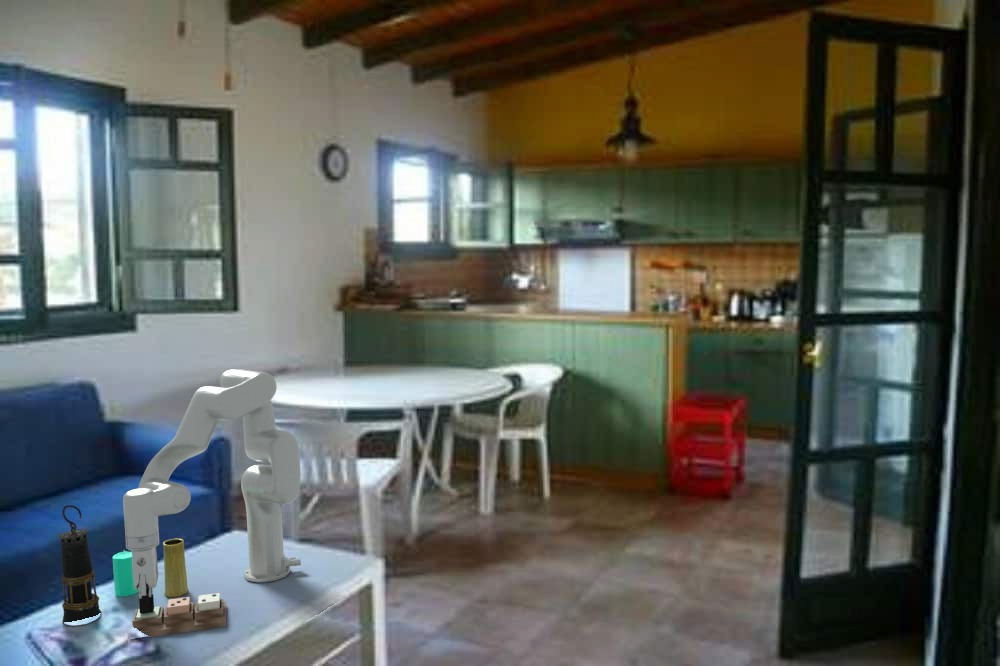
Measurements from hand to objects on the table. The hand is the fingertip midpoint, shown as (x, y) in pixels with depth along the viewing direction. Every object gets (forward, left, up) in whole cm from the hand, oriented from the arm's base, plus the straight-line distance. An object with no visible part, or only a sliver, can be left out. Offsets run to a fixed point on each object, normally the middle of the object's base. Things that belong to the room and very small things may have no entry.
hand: (147, 611), depth 218 cm
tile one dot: (0, 0, -3) cm, 3 cm away
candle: (+8, -25, -4) cm, 27 cm away
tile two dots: (-15, 0, -1) cm, 15 cm away
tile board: (-7, 0, -4) cm, 8 cm away
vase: (-5, -20, -4) cm, 21 cm away
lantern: (+17, -11, -4) cm, 21 cm away
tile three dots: (-7, 0, -1) cm, 7 cm away
